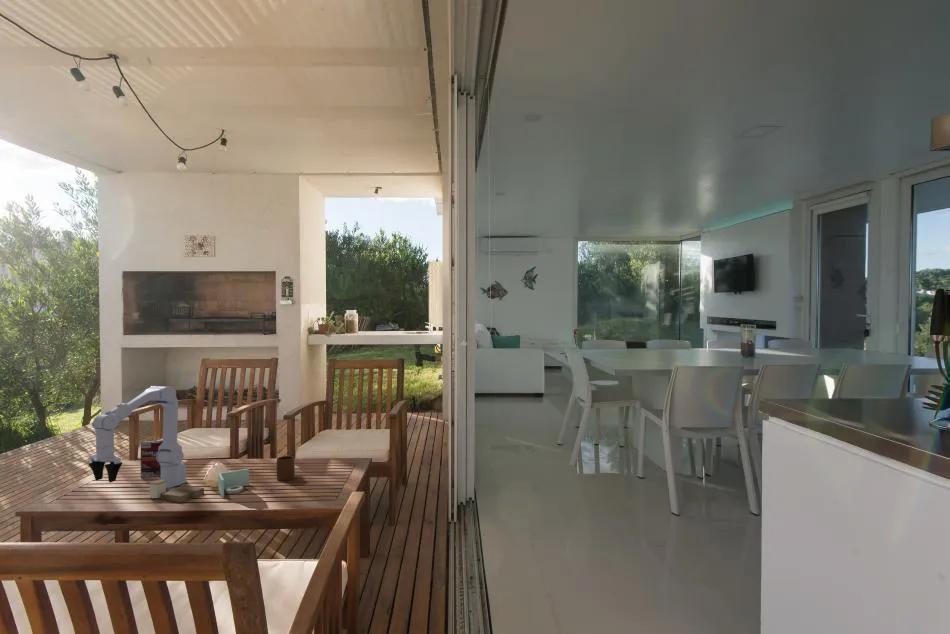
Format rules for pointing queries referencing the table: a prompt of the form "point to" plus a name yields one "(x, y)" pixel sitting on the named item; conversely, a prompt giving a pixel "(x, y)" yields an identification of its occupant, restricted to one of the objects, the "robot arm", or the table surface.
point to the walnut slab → (182, 494)
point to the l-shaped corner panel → (233, 481)
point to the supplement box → (150, 459)
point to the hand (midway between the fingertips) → (105, 480)
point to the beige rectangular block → (157, 488)
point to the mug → (285, 468)
